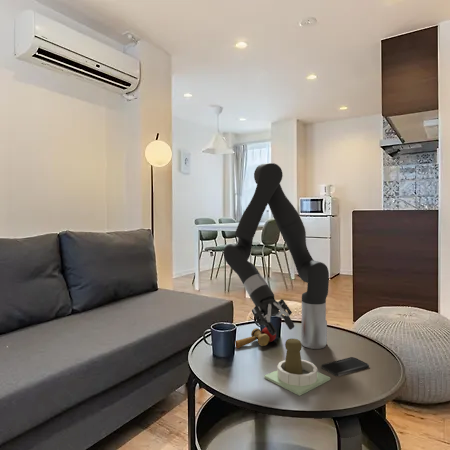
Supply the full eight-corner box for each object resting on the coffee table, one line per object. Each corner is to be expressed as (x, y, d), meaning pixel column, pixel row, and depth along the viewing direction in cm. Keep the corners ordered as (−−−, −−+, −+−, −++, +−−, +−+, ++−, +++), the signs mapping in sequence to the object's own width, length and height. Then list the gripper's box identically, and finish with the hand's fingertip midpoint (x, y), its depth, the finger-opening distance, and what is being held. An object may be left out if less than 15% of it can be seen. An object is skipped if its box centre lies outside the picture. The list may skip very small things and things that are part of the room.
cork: (305, 377, 110) (305, 343, 109) (286, 378, 110) (286, 344, 109) (299, 368, 116) (299, 336, 116) (281, 369, 116) (281, 336, 115)
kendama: (243, 355, 133) (281, 340, 141) (239, 339, 133) (278, 325, 141) (233, 352, 140) (271, 338, 148) (230, 336, 140) (268, 323, 148)
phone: (370, 365, 119) (336, 374, 113) (370, 368, 119) (336, 377, 113) (352, 356, 126) (319, 364, 120) (352, 359, 126) (319, 368, 120)
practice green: (295, 364, 122) (295, 353, 121) (330, 379, 111) (330, 367, 111) (264, 378, 112) (264, 366, 112) (299, 395, 101) (299, 382, 101)
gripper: (248, 287, 117) (274, 330, 109) (278, 281, 126) (304, 320, 118) (238, 300, 121) (262, 342, 113) (267, 293, 130) (291, 331, 122)
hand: (283, 331), depth 115 cm, fingers open, 8 cm apart
